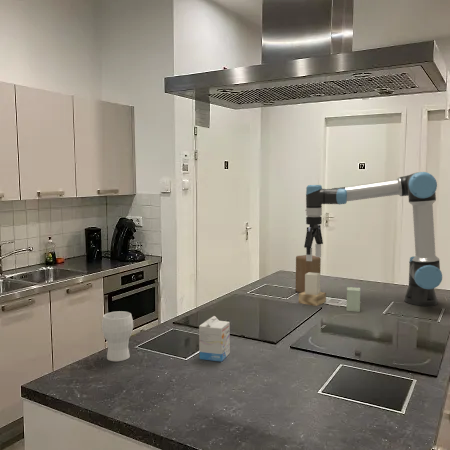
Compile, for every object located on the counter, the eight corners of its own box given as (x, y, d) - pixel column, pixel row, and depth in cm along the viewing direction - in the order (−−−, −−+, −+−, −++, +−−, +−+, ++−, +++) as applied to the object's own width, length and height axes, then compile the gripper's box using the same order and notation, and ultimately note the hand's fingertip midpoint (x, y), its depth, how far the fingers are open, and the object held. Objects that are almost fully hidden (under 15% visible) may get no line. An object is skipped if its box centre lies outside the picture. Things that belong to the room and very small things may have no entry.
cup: (133, 362, 156) (132, 318, 155) (101, 364, 155) (99, 320, 153) (134, 350, 167) (133, 310, 165) (104, 352, 165) (102, 311, 163)
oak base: (325, 302, 233) (325, 292, 233) (316, 306, 225) (317, 296, 225) (307, 299, 239) (307, 290, 239) (298, 303, 231) (298, 293, 231)
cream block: (320, 292, 232) (320, 273, 231) (316, 295, 227) (316, 275, 226) (308, 291, 235) (308, 272, 234) (304, 294, 230) (305, 274, 229)
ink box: (221, 362, 156) (221, 323, 155) (198, 359, 159) (198, 321, 158) (230, 353, 164) (230, 316, 163) (208, 350, 167) (208, 314, 166)
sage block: (359, 308, 221) (360, 287, 220) (359, 311, 215) (360, 290, 214) (346, 307, 223) (346, 287, 222) (346, 310, 217) (346, 289, 216)
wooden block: (294, 291, 254) (295, 255, 252) (309, 289, 259) (310, 254, 257) (305, 295, 245) (305, 258, 243) (320, 293, 250) (321, 257, 248)
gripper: (314, 214, 240) (314, 254, 242) (297, 218, 219) (297, 262, 221) (329, 214, 237) (328, 255, 239) (312, 218, 215) (312, 263, 217)
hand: (313, 259), depth 230 cm, fingers open, 13 cm apart
